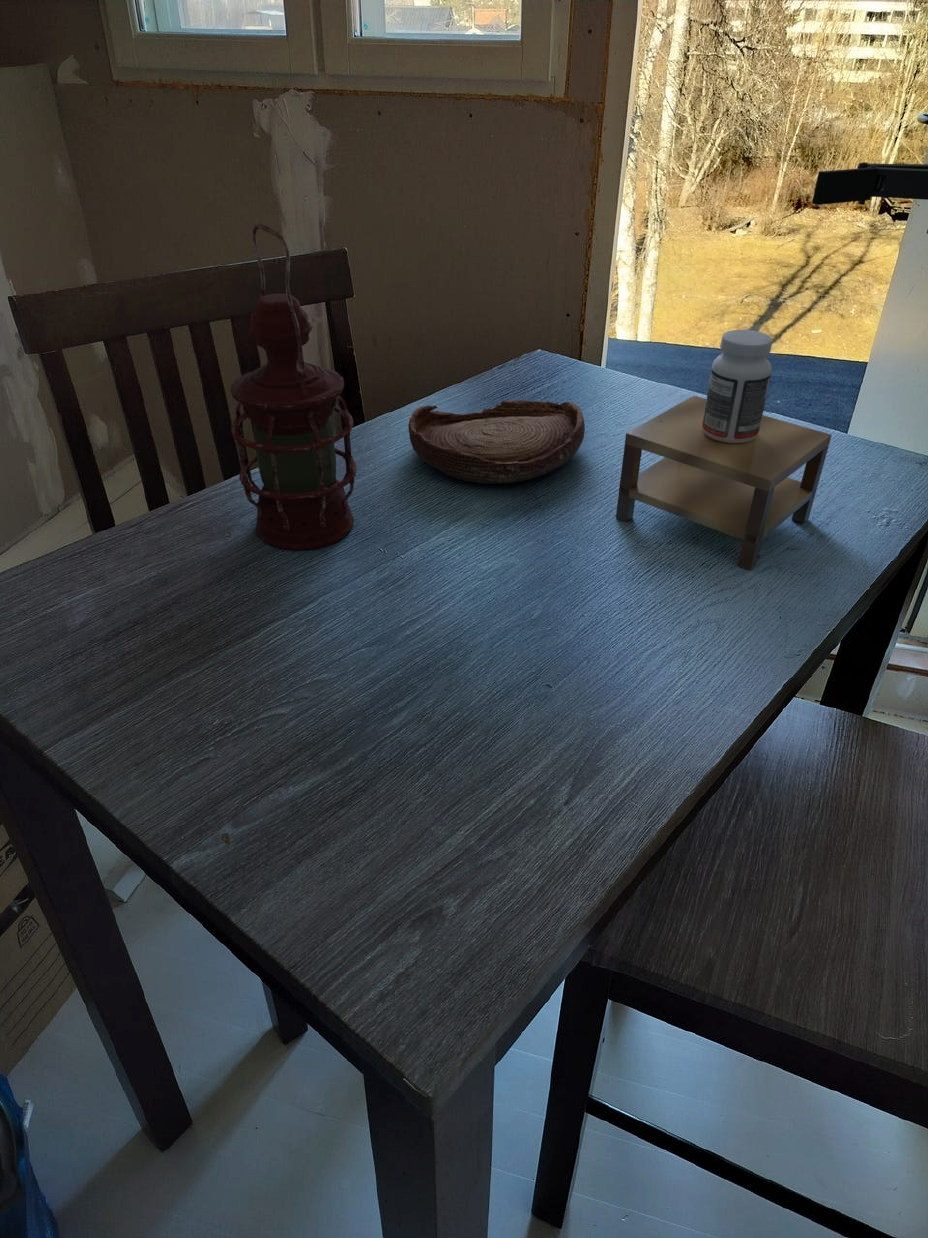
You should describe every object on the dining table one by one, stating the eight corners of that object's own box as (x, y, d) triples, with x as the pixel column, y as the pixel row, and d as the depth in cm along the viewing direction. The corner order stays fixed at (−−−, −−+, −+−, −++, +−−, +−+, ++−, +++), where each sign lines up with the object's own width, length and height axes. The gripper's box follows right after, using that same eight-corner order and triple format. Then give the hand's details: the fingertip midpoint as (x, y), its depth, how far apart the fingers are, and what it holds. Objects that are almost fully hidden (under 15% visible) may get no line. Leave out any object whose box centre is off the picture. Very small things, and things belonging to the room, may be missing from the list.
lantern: (381, 533, 91) (362, 231, 73) (275, 568, 85) (226, 249, 68) (330, 489, 99) (302, 207, 81) (230, 517, 93) (176, 222, 76)
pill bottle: (754, 424, 90) (775, 329, 84) (760, 447, 85) (782, 348, 79) (699, 420, 90) (715, 326, 84) (701, 442, 86) (719, 344, 80)
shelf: (808, 519, 94) (832, 434, 88) (749, 570, 85) (771, 480, 79) (680, 475, 102) (693, 395, 96) (615, 518, 94) (625, 432, 88)
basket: (526, 408, 118) (528, 373, 116) (620, 462, 105) (625, 425, 102) (382, 444, 109) (380, 407, 106) (465, 509, 95) (465, 469, 92)
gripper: (1154, 256, 74) (977, 281, 67) (926, 204, 92) (769, 219, 86) (1198, 159, 70) (1014, 175, 63) (949, 124, 88) (786, 134, 81)
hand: (872, 201), depth 74 cm, fingers open, 13 cm apart
